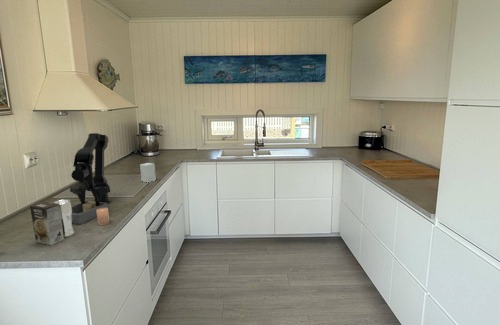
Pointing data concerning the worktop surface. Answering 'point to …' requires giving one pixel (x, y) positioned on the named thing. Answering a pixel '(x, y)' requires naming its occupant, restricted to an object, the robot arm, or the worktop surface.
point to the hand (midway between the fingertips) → (90, 205)
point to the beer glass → (66, 217)
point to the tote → (85, 213)
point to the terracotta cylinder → (102, 216)
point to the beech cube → (88, 206)
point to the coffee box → (47, 223)
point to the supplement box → (147, 172)
